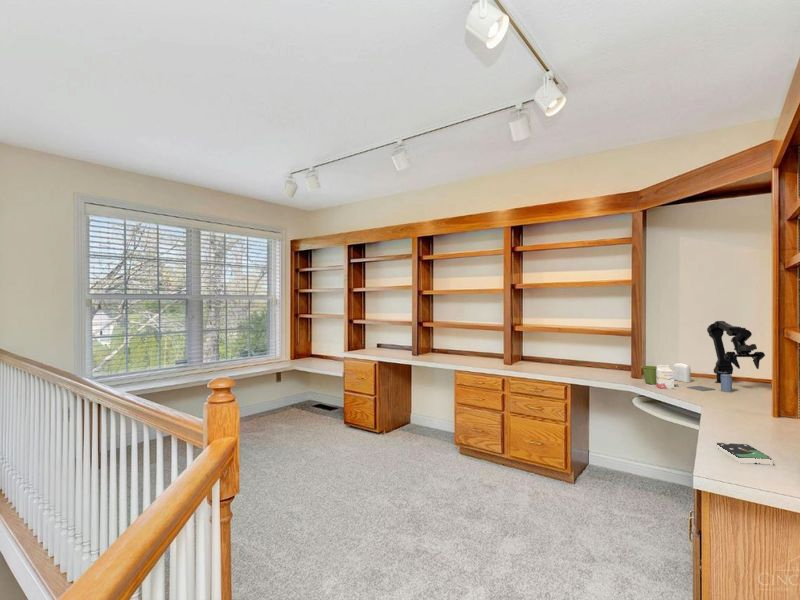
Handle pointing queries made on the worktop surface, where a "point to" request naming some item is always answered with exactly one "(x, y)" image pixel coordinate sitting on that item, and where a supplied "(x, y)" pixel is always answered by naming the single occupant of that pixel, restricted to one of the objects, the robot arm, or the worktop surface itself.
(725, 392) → the terracotta saucer
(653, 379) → the plant pot
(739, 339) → the robot arm
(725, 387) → the domed octagonal peg
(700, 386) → the rubber mat
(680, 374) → the photo printer
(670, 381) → the ink cartridge box
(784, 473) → the worktop surface
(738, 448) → the disk drive
